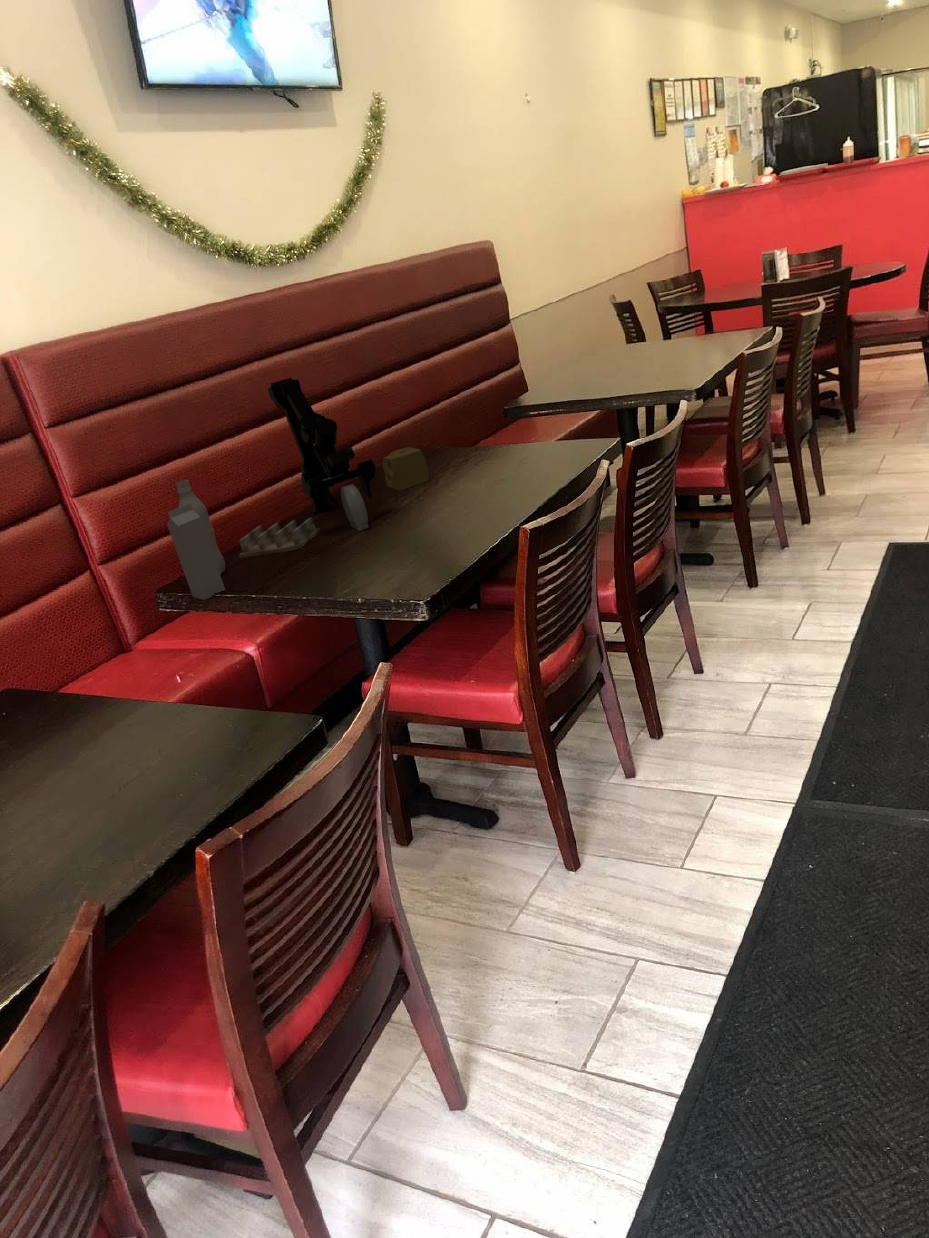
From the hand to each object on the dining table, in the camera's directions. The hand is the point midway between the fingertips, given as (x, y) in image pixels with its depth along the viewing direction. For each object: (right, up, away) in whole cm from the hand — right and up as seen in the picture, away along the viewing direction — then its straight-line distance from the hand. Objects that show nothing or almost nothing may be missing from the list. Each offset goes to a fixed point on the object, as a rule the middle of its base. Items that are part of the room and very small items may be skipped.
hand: (354, 503), depth 260 cm
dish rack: (-20, -10, +6) cm, 24 cm away
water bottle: (-35, -19, -7) cm, 41 cm away
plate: (+1, -6, +4) cm, 7 cm away
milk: (-32, -25, -22) cm, 46 cm away
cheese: (+12, +10, +37) cm, 40 cm away
